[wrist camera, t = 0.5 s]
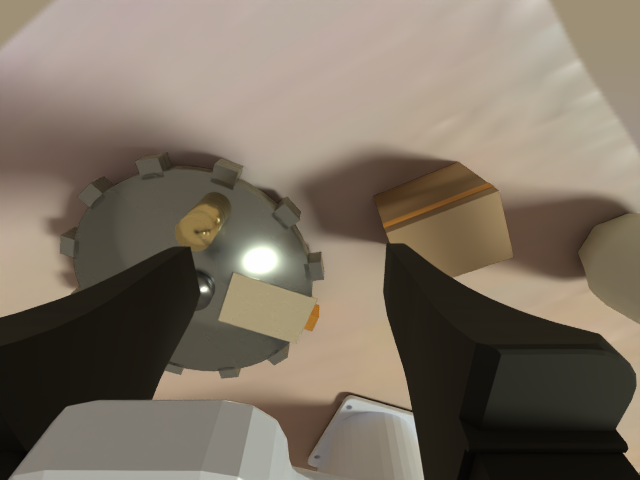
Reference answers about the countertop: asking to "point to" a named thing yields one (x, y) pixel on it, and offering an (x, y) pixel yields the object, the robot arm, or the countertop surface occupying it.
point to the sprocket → (206, 257)
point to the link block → (448, 219)
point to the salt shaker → (615, 263)
